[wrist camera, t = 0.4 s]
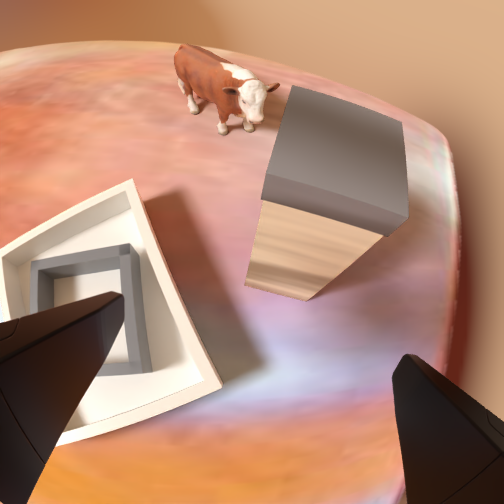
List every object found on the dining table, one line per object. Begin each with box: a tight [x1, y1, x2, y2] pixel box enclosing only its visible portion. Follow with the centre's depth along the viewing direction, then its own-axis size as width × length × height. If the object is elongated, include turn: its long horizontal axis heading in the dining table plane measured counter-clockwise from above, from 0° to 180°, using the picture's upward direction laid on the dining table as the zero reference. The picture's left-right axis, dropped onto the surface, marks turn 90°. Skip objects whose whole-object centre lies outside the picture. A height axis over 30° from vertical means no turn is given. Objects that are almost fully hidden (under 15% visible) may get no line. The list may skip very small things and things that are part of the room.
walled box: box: [0, 178, 223, 446], centre depth 18 cm, size 16×14×4 cm
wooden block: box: [245, 85, 409, 301], centre depth 16 cm, size 5×5×14 cm
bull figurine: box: [174, 44, 280, 135], centre depth 24 cm, size 4×13×8 cm, turn 38°
